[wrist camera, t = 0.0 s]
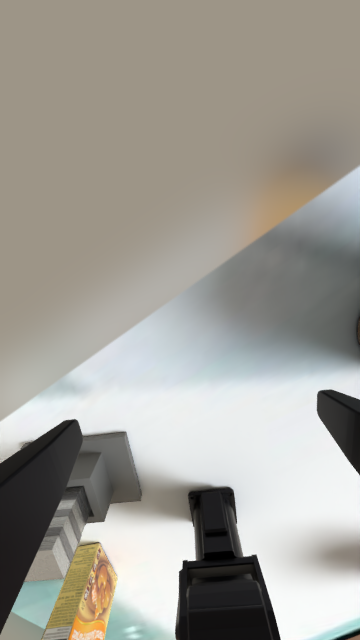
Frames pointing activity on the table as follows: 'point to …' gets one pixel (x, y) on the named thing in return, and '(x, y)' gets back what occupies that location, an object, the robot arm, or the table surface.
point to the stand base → (105, 473)
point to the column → (61, 536)
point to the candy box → (84, 598)
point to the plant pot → (359, 331)
